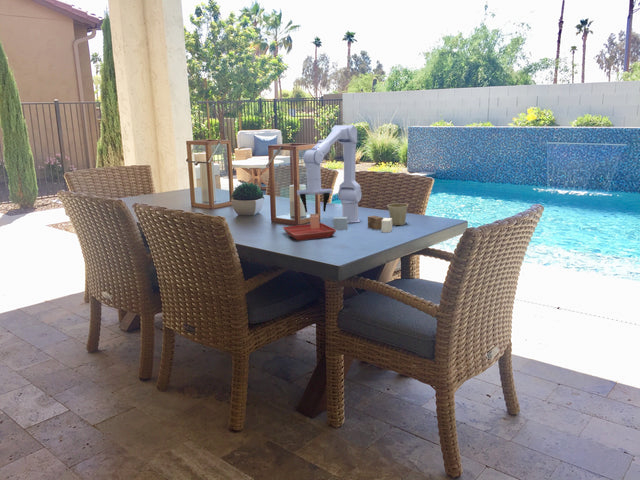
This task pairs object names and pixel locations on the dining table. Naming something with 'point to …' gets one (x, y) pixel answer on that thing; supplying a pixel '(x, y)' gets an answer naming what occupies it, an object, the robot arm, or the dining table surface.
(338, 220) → the slate-blue brick
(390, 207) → the flower pot
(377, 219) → the walnut brick
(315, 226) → the terracotta brick
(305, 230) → the plant saucer
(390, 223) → the cream brick
